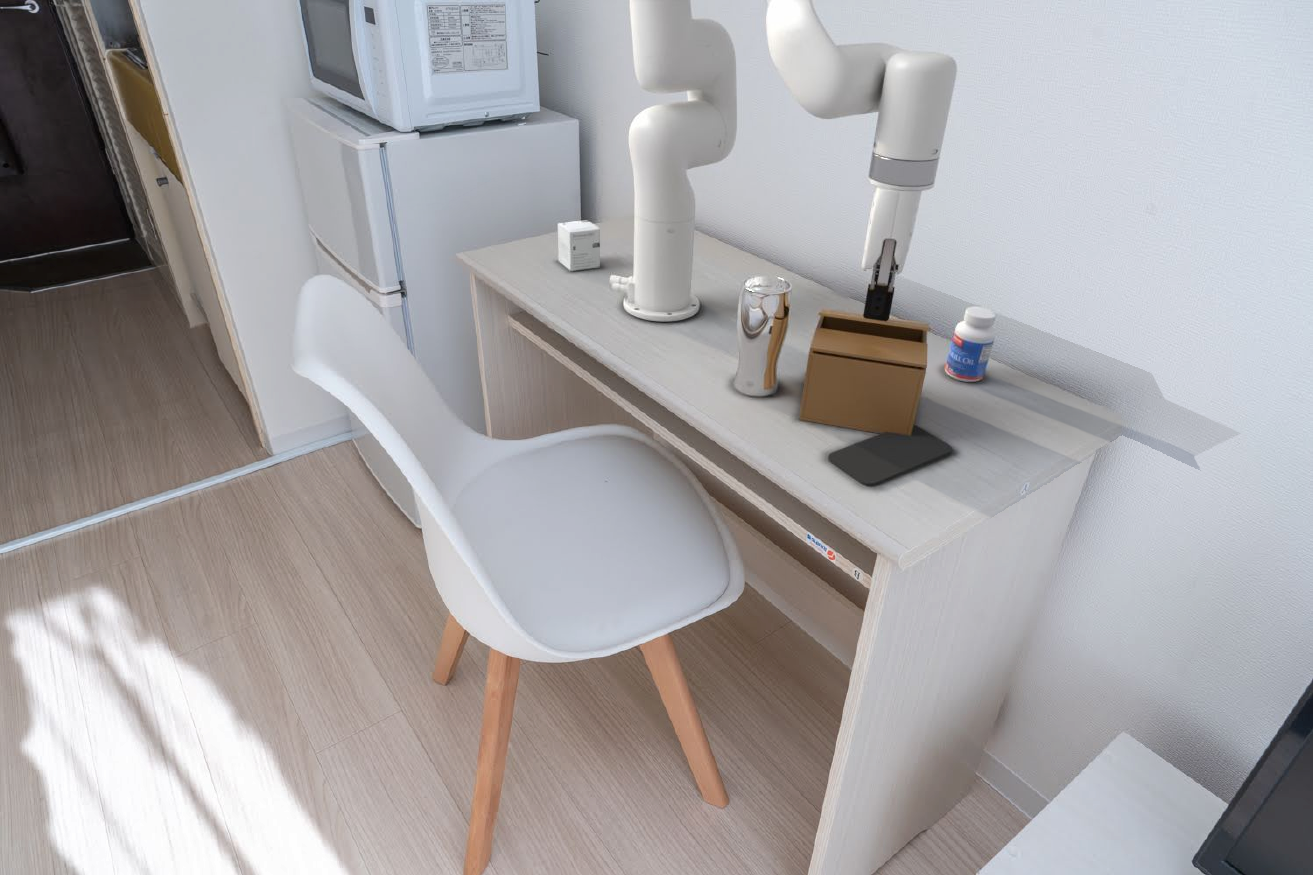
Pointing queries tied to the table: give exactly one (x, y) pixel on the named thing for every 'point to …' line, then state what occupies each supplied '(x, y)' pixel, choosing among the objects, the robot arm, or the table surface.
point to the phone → (889, 455)
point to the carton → (864, 376)
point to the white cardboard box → (579, 245)
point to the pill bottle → (971, 345)
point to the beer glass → (761, 332)
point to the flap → (889, 322)
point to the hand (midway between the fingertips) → (875, 317)
